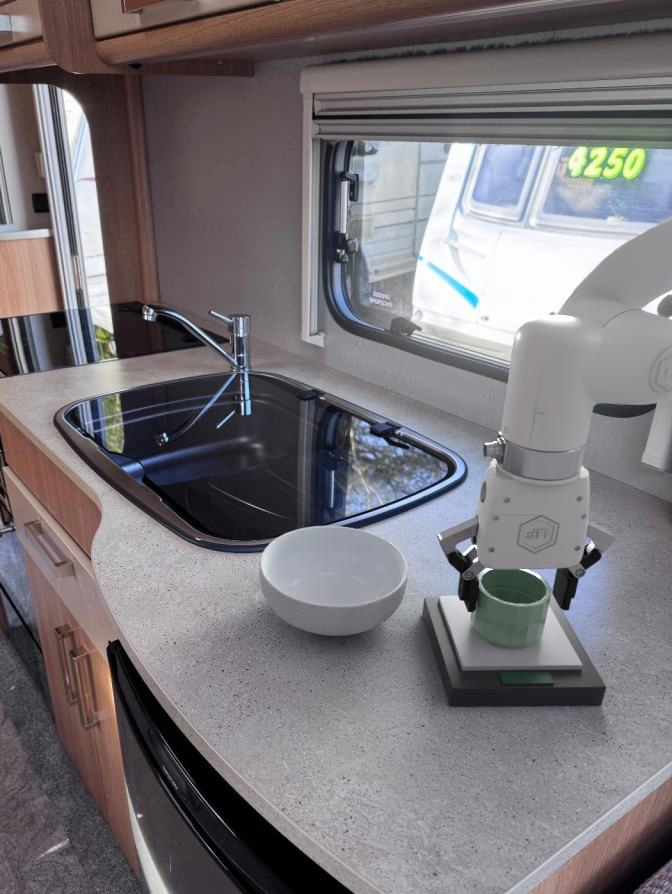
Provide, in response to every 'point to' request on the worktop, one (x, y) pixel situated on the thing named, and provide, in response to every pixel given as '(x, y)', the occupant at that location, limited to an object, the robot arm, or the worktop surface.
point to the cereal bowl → (333, 579)
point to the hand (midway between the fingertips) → (514, 603)
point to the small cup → (511, 607)
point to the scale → (509, 662)
